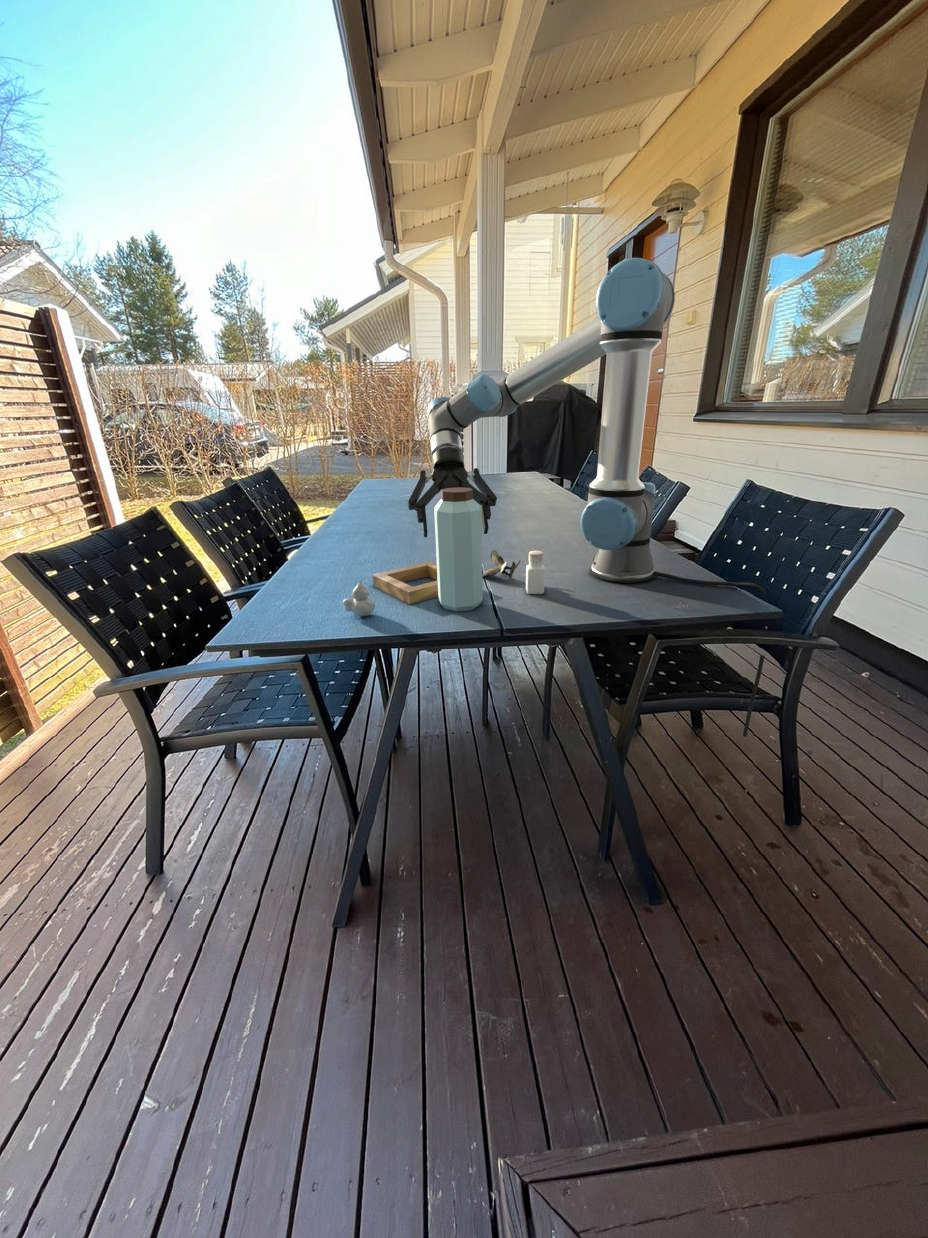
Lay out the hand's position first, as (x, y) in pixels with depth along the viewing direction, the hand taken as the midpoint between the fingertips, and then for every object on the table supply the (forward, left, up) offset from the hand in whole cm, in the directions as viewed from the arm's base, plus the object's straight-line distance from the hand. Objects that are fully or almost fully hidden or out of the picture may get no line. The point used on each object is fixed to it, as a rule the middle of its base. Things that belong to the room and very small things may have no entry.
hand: (456, 532), depth 117 cm
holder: (+10, +4, -15) cm, 18 cm away
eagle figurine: (+3, -15, -15) cm, 22 cm away
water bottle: (-6, +4, -15) cm, 16 cm away
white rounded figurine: (+3, +24, -15) cm, 28 cm away
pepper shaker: (-11, -14, -15) cm, 23 cm away
